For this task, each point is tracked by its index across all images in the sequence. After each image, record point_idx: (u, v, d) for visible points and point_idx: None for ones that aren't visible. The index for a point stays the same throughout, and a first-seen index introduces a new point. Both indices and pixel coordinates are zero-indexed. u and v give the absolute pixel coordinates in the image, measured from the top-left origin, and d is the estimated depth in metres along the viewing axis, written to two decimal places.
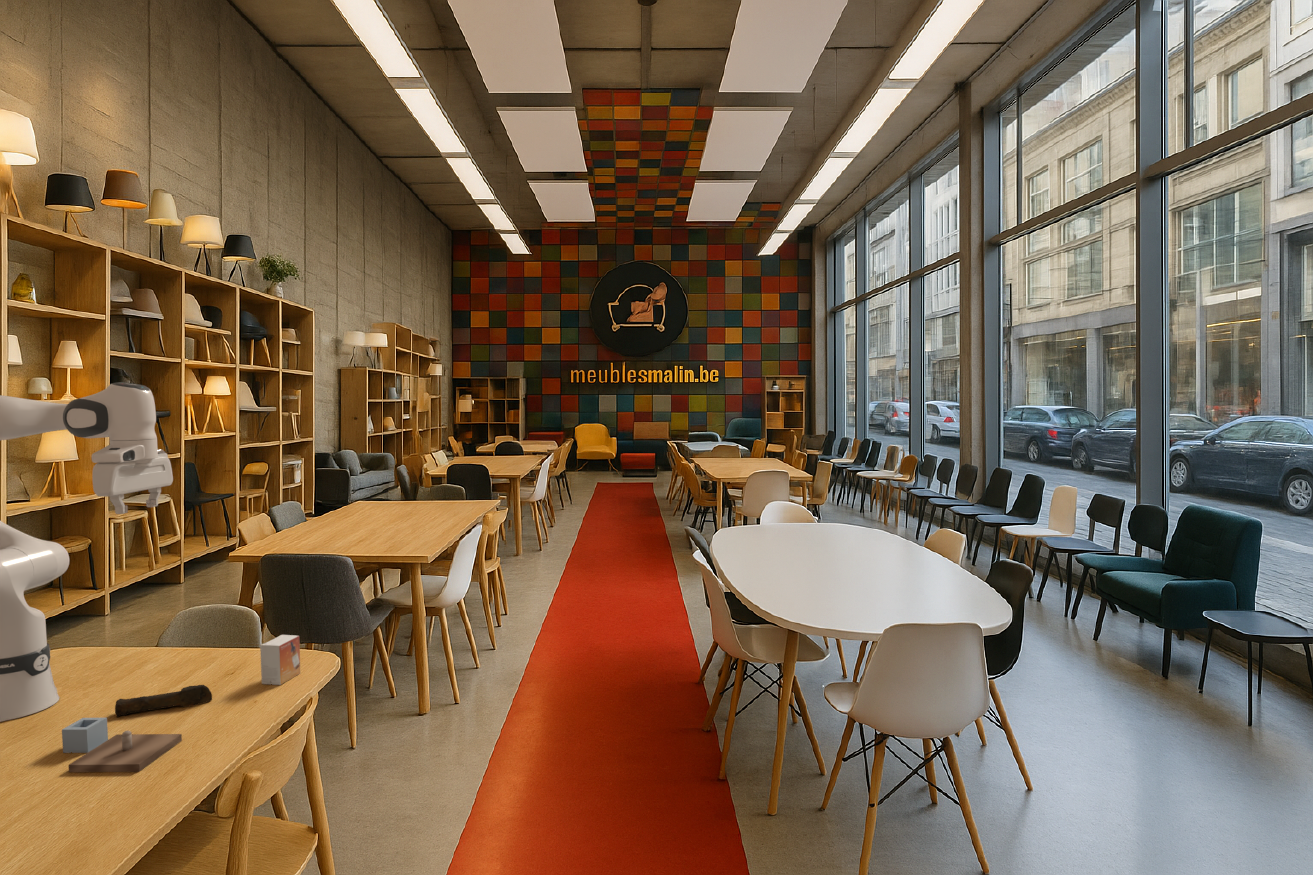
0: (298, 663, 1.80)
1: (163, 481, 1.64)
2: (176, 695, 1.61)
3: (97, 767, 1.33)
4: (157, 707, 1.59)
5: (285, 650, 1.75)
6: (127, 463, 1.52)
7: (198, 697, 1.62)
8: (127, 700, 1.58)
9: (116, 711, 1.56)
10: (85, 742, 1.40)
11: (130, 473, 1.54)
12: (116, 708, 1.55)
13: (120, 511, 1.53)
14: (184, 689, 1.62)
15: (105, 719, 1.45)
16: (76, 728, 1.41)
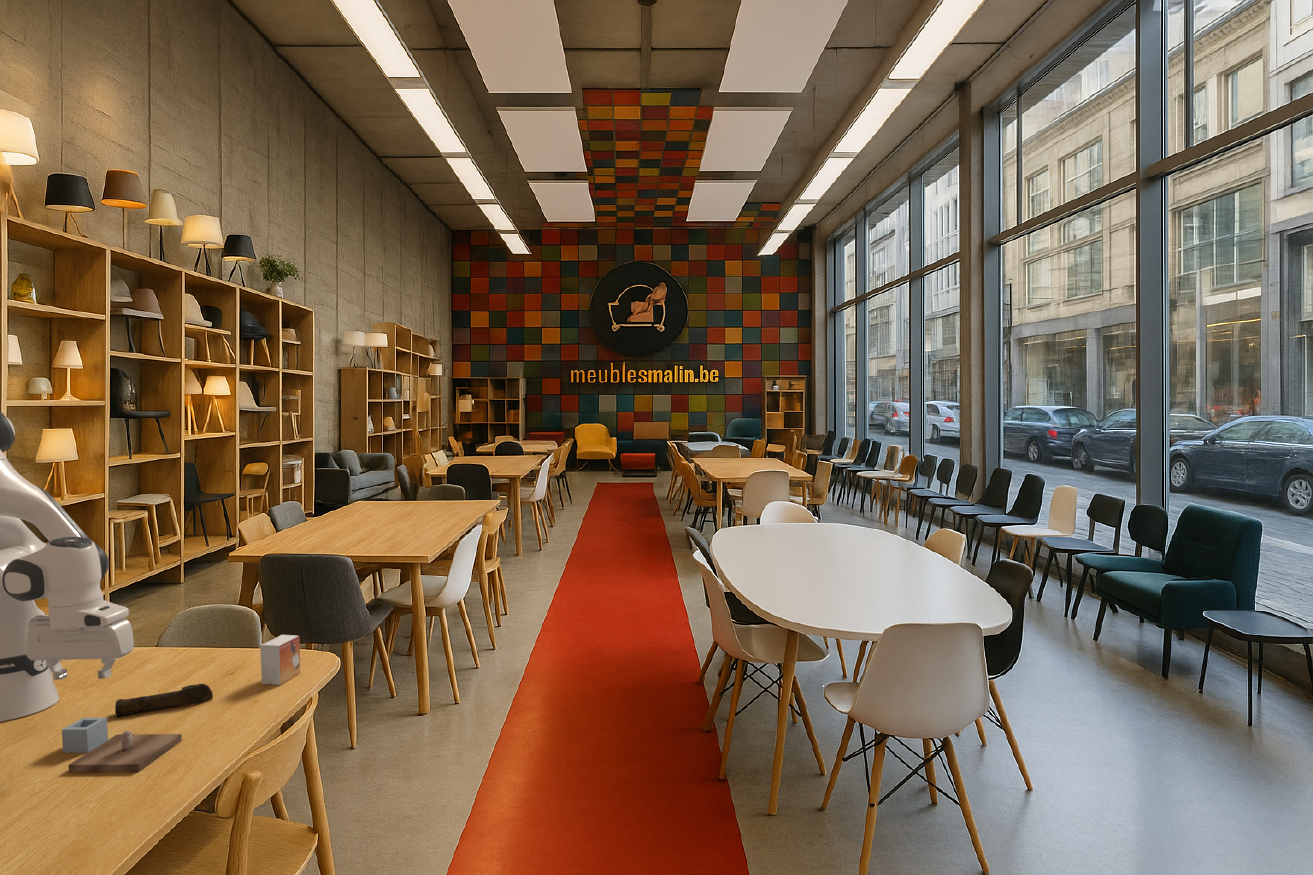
0: (298, 663, 1.80)
1: None
2: (177, 694, 1.61)
3: (97, 767, 1.33)
4: (158, 706, 1.59)
5: (285, 650, 1.75)
6: None
7: (199, 696, 1.63)
8: (127, 700, 1.58)
9: (116, 711, 1.55)
10: (85, 742, 1.40)
11: None
12: (116, 708, 1.55)
13: (109, 673, 1.42)
14: (185, 688, 1.62)
15: (105, 719, 1.45)
16: (76, 728, 1.41)
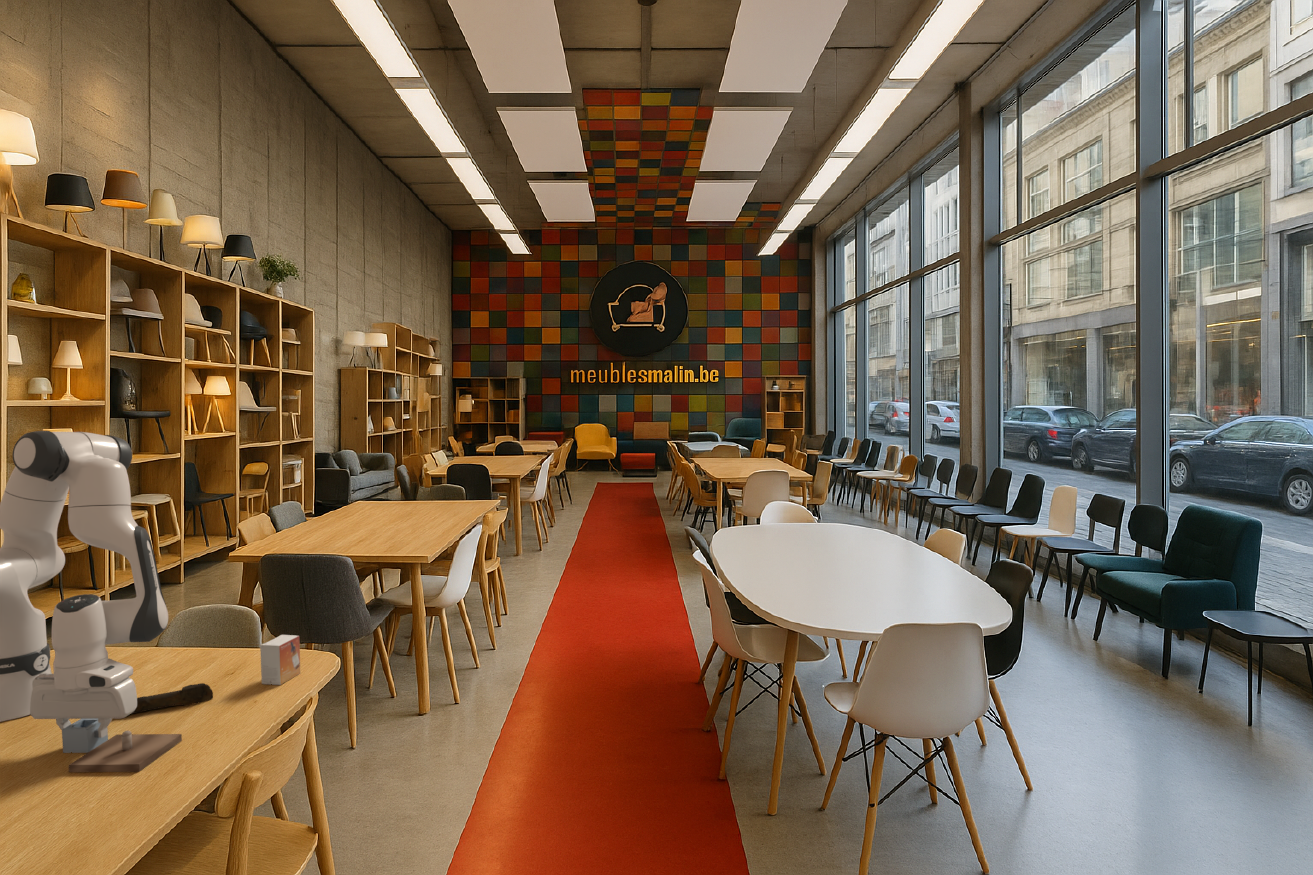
0: (298, 663, 1.80)
1: None
2: (177, 694, 1.61)
3: (97, 767, 1.33)
4: (158, 706, 1.59)
5: (285, 650, 1.75)
6: None
7: (199, 696, 1.63)
8: None
9: None
10: (85, 742, 1.40)
11: None
12: None
13: (105, 732, 1.43)
14: (185, 688, 1.62)
15: None
16: (76, 728, 1.41)
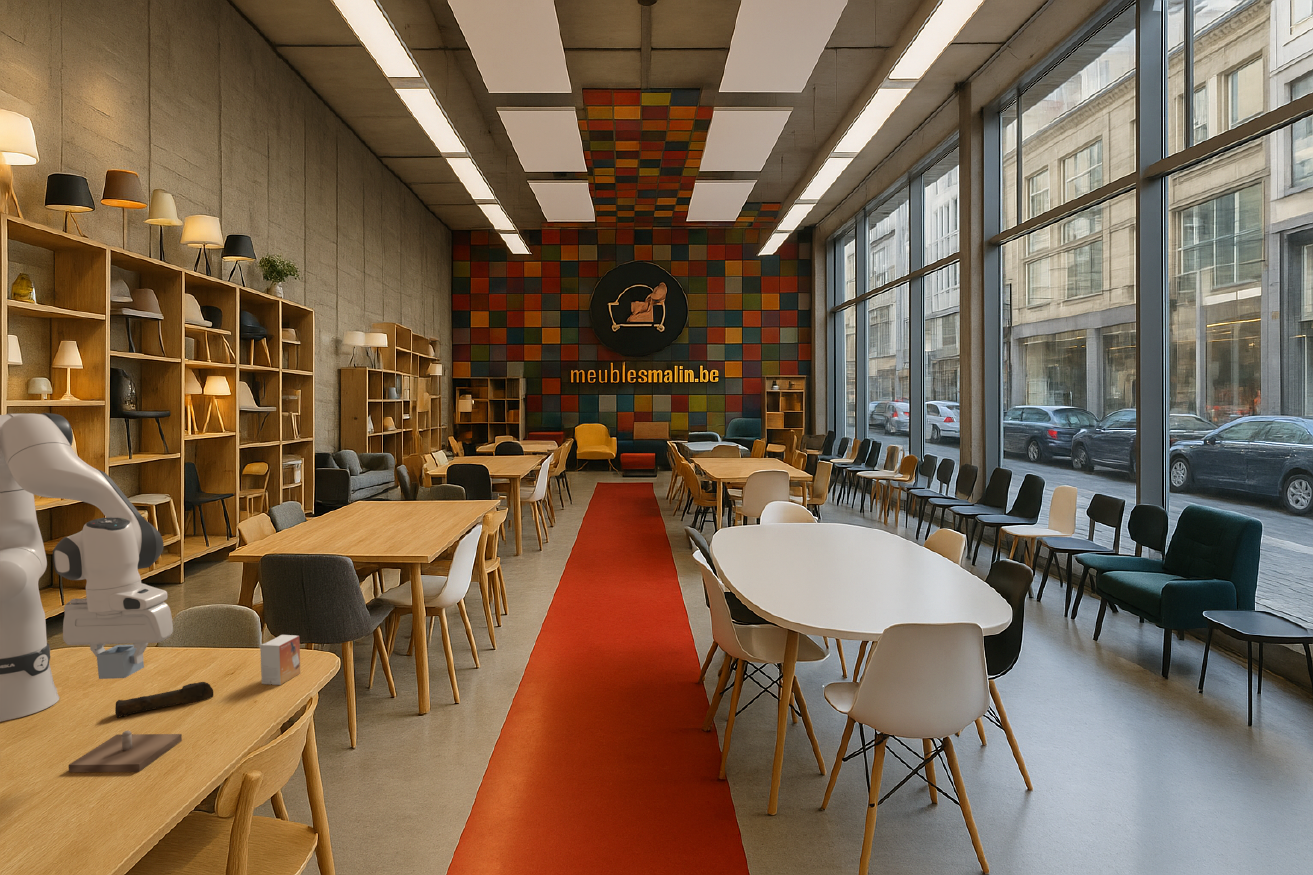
0: (298, 663, 1.80)
1: None
2: (178, 693, 1.62)
3: (97, 767, 1.33)
4: (159, 705, 1.60)
5: (285, 650, 1.75)
6: None
7: (200, 694, 1.64)
8: (127, 701, 1.57)
9: (117, 712, 1.55)
10: (121, 667, 1.35)
11: None
12: (117, 709, 1.55)
13: (141, 659, 1.38)
14: (186, 687, 1.63)
15: None
16: (111, 653, 1.36)
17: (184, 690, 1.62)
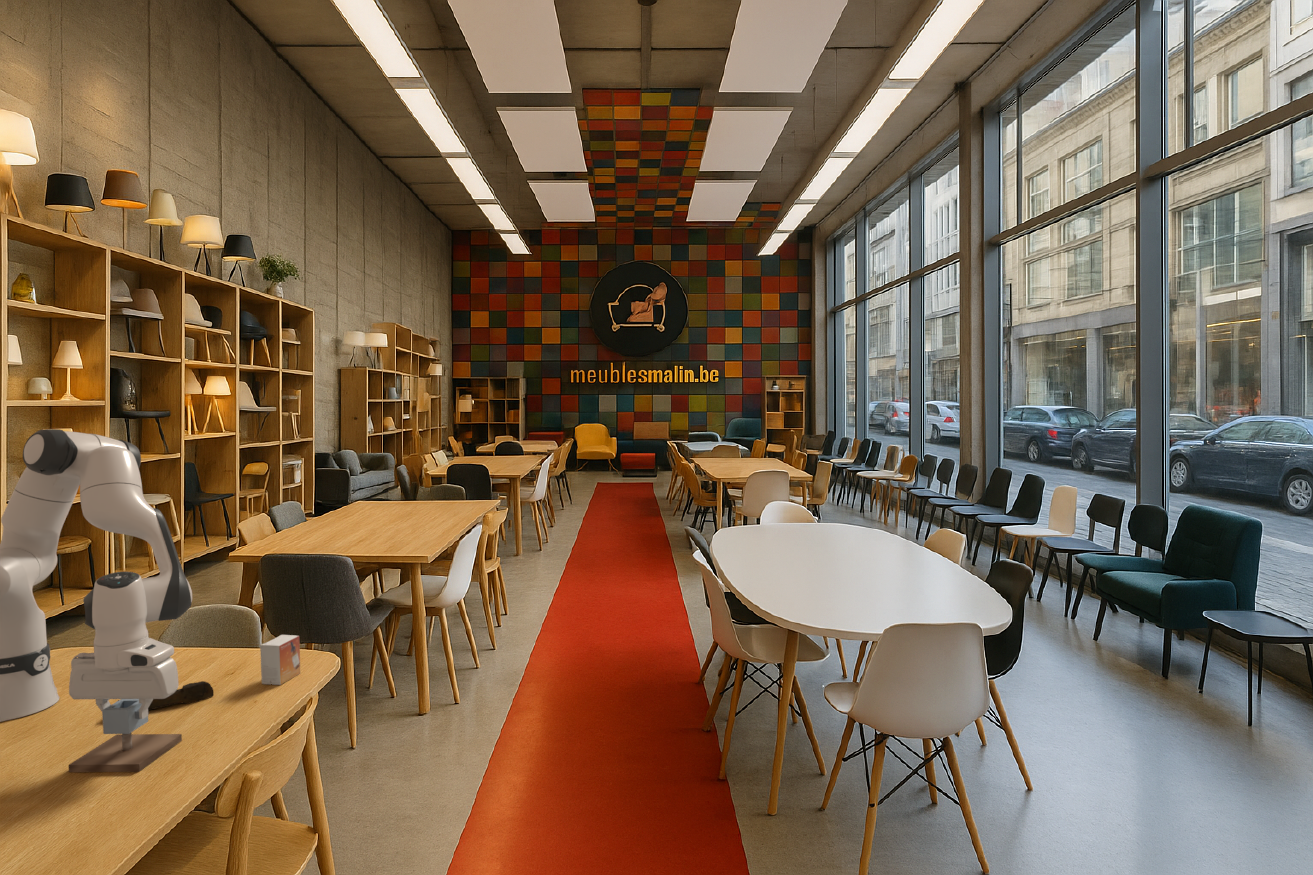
0: (298, 663, 1.80)
1: None
2: (178, 693, 1.62)
3: (97, 767, 1.33)
4: (159, 705, 1.60)
5: (285, 650, 1.75)
6: None
7: (200, 693, 1.64)
8: None
9: None
10: (126, 723, 1.36)
11: None
12: None
13: (146, 714, 1.39)
14: (186, 686, 1.63)
15: None
16: (117, 709, 1.36)
17: (184, 690, 1.62)
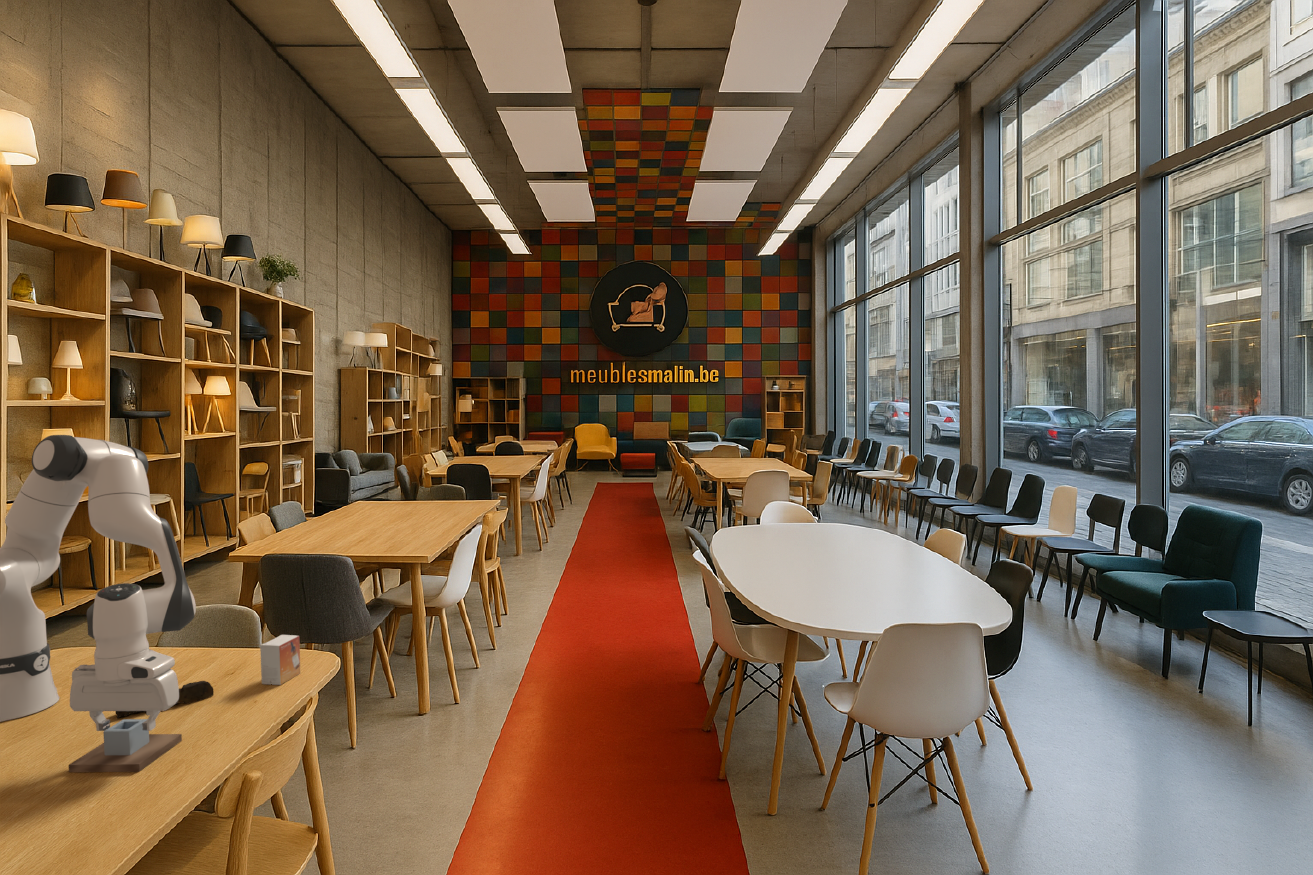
0: (298, 663, 1.80)
1: None
2: None
3: (97, 767, 1.33)
4: None
5: (285, 650, 1.75)
6: None
7: (200, 693, 1.65)
8: None
9: (118, 712, 1.55)
10: (127, 744, 1.36)
11: None
12: None
13: (153, 725, 1.39)
14: (186, 686, 1.63)
15: None
16: (118, 730, 1.37)
17: (185, 689, 1.63)
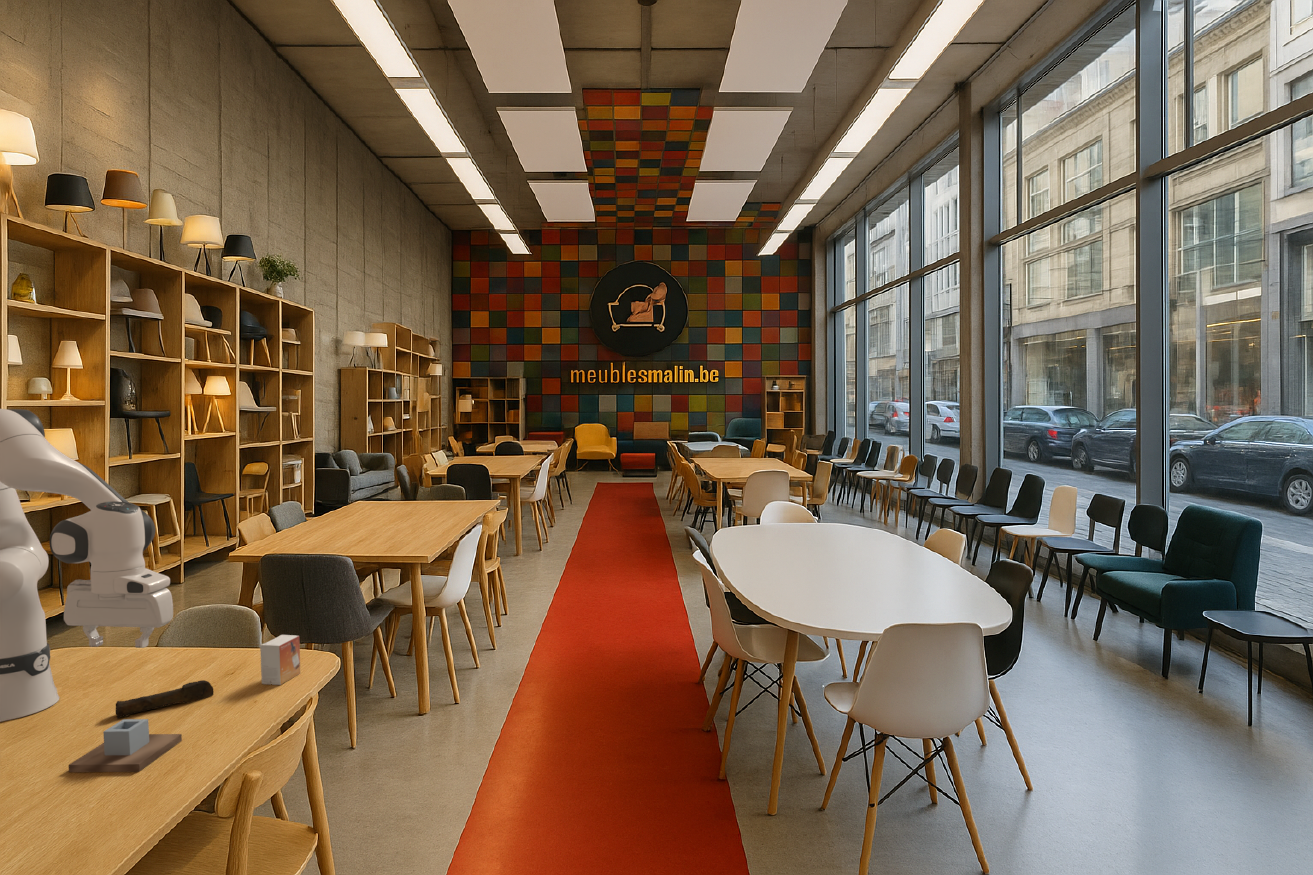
0: (298, 663, 1.80)
1: None
2: (179, 692, 1.62)
3: (97, 767, 1.33)
4: (160, 705, 1.60)
5: (285, 650, 1.75)
6: None
7: (201, 692, 1.65)
8: (127, 701, 1.57)
9: (118, 713, 1.55)
10: (127, 744, 1.36)
11: None
12: (118, 710, 1.55)
13: (146, 643, 1.40)
14: (186, 686, 1.64)
15: (146, 721, 1.41)
16: (118, 730, 1.37)
17: (185, 689, 1.63)
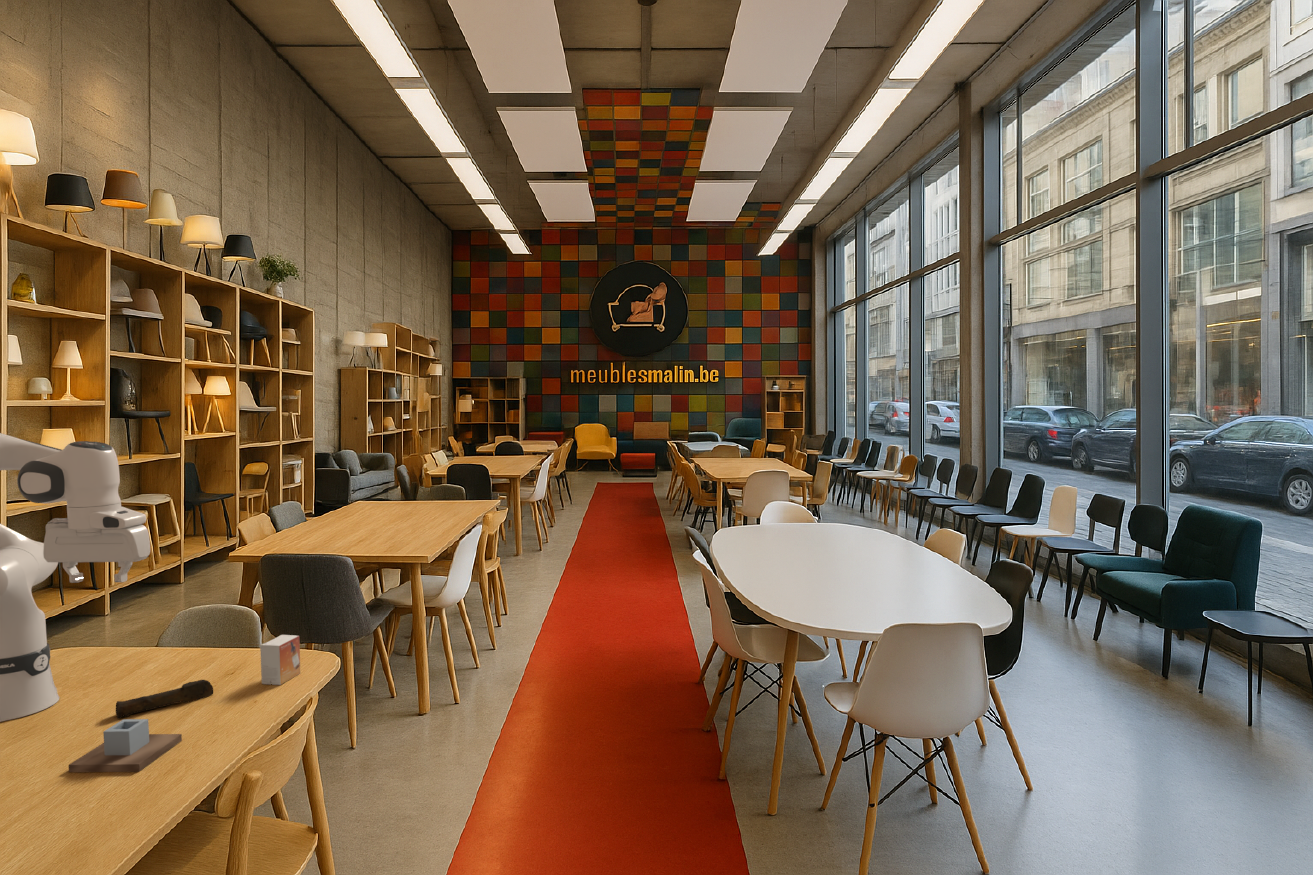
0: (298, 663, 1.80)
1: None
2: (179, 691, 1.63)
3: (97, 767, 1.33)
4: (160, 705, 1.60)
5: (285, 650, 1.75)
6: None
7: (201, 692, 1.65)
8: (127, 701, 1.57)
9: (118, 713, 1.55)
10: (127, 744, 1.36)
11: None
12: (118, 710, 1.55)
13: (125, 578, 1.43)
14: (186, 685, 1.64)
15: (146, 721, 1.41)
16: (118, 730, 1.37)
17: (185, 688, 1.63)
